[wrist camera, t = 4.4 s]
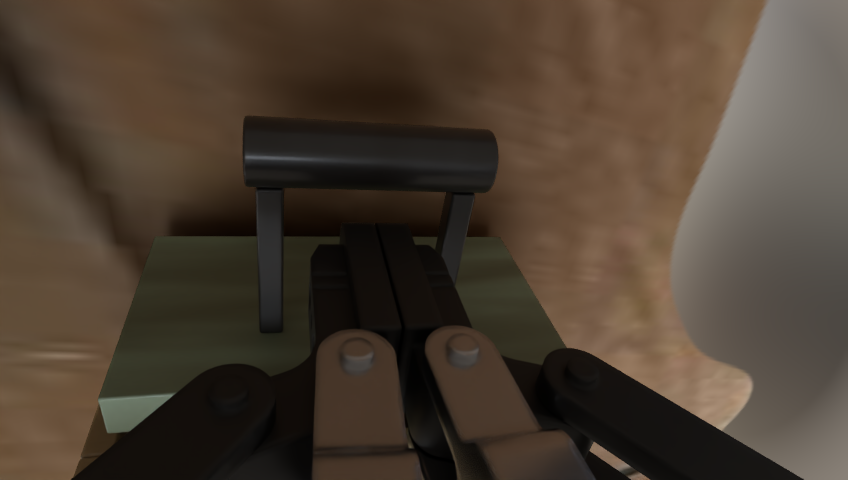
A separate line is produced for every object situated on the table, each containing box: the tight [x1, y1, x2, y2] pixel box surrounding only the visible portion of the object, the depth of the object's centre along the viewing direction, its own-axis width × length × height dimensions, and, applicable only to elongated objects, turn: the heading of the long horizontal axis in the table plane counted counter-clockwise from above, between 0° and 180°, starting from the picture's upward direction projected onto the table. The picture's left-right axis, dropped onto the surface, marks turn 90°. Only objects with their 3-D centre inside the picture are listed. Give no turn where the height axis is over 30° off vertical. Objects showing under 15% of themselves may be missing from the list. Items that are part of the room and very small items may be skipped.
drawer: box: [98, 116, 566, 433], centre depth 18 cm, size 20×12×6 cm, turn 171°
